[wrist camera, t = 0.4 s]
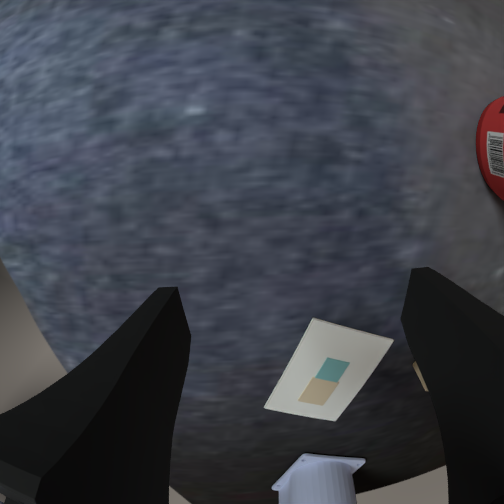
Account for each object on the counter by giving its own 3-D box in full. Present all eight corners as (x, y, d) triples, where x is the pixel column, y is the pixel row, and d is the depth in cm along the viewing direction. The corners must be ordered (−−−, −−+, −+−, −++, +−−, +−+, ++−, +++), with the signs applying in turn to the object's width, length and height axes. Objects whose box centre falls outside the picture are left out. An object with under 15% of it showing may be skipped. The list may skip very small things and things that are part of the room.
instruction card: (335, 419, 26) (335, 421, 26) (264, 406, 25) (264, 408, 25) (393, 339, 22) (394, 341, 22) (312, 317, 22) (313, 319, 21)
